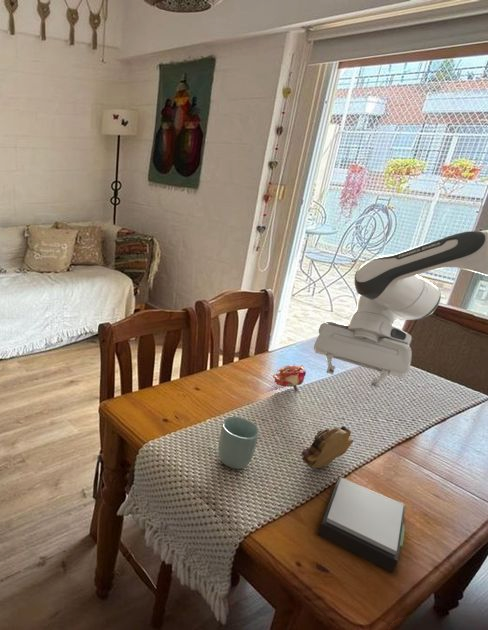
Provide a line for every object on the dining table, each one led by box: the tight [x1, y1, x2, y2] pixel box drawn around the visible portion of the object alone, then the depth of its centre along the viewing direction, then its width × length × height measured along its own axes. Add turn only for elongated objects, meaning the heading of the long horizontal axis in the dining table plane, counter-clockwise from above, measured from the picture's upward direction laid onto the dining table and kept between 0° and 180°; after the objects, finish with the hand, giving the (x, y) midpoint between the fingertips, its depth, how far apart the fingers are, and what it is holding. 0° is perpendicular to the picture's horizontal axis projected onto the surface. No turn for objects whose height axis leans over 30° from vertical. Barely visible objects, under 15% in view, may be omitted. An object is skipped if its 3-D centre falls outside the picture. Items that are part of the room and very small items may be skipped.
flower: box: [272, 363, 307, 392], centre depth 132 cm, size 10×9×8 cm
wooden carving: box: [301, 426, 354, 469], centre depth 101 cm, size 16×5×10 cm, turn 123°
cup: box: [217, 416, 260, 470], centre depth 101 cm, size 8×8×10 cm
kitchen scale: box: [317, 477, 406, 573], centre depth 86 cm, size 12×16×4 cm
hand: (351, 379), depth 108 cm, fingers open, 8 cm apart
